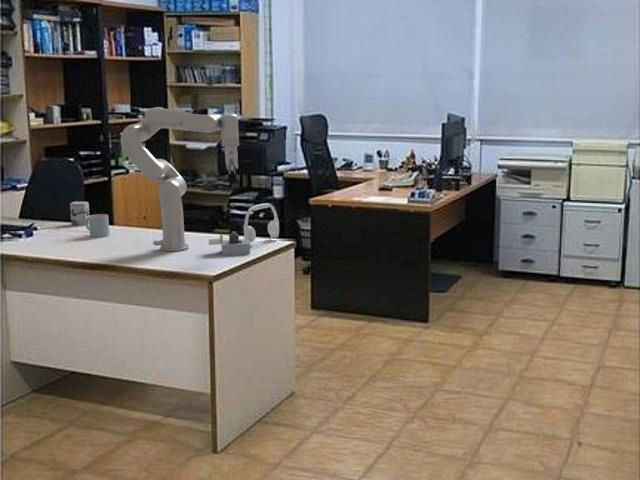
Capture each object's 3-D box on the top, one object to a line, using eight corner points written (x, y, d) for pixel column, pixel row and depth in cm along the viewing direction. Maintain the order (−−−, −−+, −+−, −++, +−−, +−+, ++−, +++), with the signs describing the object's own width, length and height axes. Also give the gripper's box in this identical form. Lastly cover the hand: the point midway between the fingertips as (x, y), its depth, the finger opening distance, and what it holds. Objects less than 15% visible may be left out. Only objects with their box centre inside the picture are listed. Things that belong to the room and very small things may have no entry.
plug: (239, 253, 361) (238, 232, 359) (230, 253, 361) (229, 233, 359) (239, 251, 365) (238, 230, 363) (229, 251, 365) (228, 231, 363)
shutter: (208, 244, 357) (208, 237, 356) (208, 241, 364) (208, 233, 364) (222, 244, 358) (222, 236, 357) (222, 240, 365) (222, 233, 365)
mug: (113, 234, 408) (112, 215, 406) (99, 238, 400) (97, 218, 398) (94, 232, 415) (92, 212, 413) (79, 235, 407) (78, 215, 405)
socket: (222, 255, 357) (221, 245, 357) (221, 250, 367) (221, 240, 366) (250, 253, 359) (249, 243, 358) (248, 249, 369) (248, 239, 368)
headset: (251, 246, 374) (249, 207, 370) (240, 244, 379) (238, 206, 375) (282, 239, 388) (281, 201, 385) (272, 237, 393) (270, 200, 389)
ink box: (71, 225, 436) (69, 203, 434) (75, 223, 441) (73, 201, 439) (86, 225, 435) (84, 203, 432) (90, 223, 440) (88, 201, 437)
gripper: (239, 144, 352) (241, 184, 356) (238, 140, 369) (239, 178, 373) (222, 144, 351) (224, 184, 355) (221, 141, 368) (222, 179, 372)
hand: (232, 181), depth 364 cm, fingers open, 9 cm apart
